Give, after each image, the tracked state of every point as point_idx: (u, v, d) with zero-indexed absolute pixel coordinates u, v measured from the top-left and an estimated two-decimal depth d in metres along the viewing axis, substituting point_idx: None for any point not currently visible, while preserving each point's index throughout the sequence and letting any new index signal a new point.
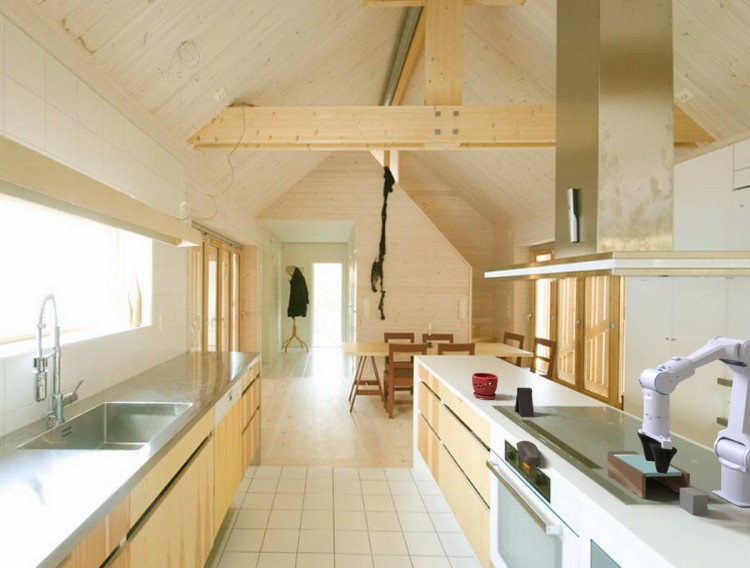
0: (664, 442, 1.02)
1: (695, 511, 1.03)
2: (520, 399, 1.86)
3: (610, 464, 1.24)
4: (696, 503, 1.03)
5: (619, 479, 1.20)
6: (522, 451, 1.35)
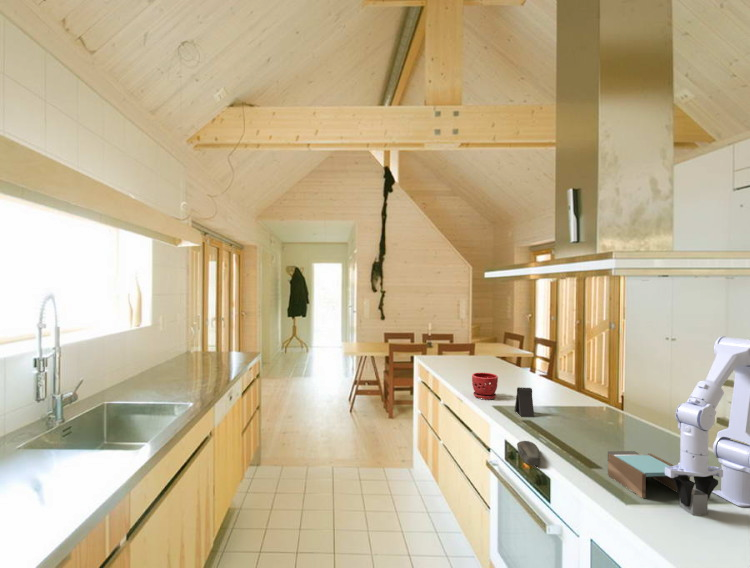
0: (665, 469, 1.06)
1: (695, 511, 1.03)
2: (520, 399, 1.86)
3: (610, 464, 1.24)
4: (696, 503, 1.03)
5: (619, 479, 1.20)
6: (522, 451, 1.35)
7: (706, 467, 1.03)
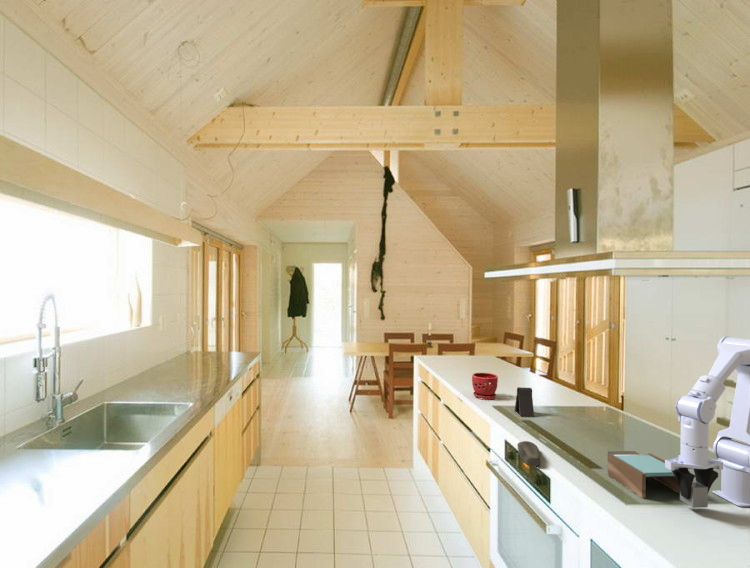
0: (665, 461, 1.06)
1: (695, 503, 1.03)
2: (520, 399, 1.86)
3: (610, 464, 1.24)
4: (696, 496, 1.03)
5: (619, 479, 1.20)
6: (522, 451, 1.35)
7: (706, 459, 1.03)
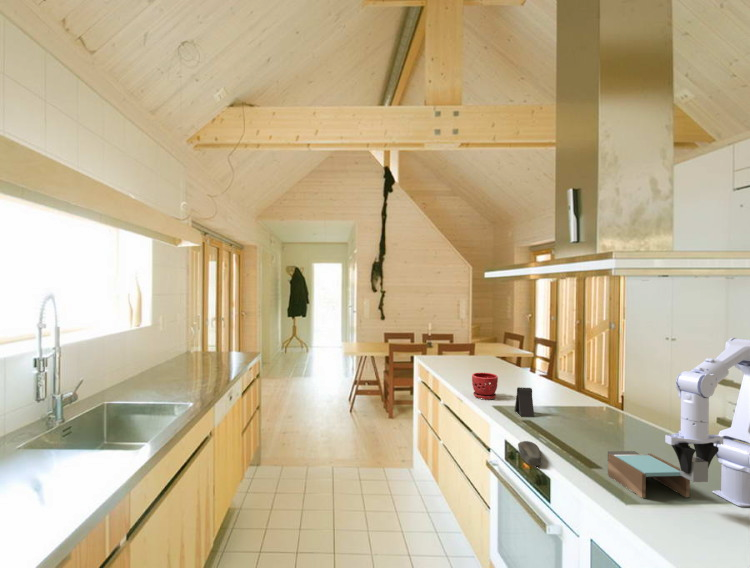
0: (666, 436, 1.06)
1: (695, 478, 1.03)
2: (520, 399, 1.86)
3: (610, 464, 1.24)
4: (696, 470, 1.03)
5: (619, 479, 1.20)
6: (523, 451, 1.35)
7: (706, 434, 1.03)
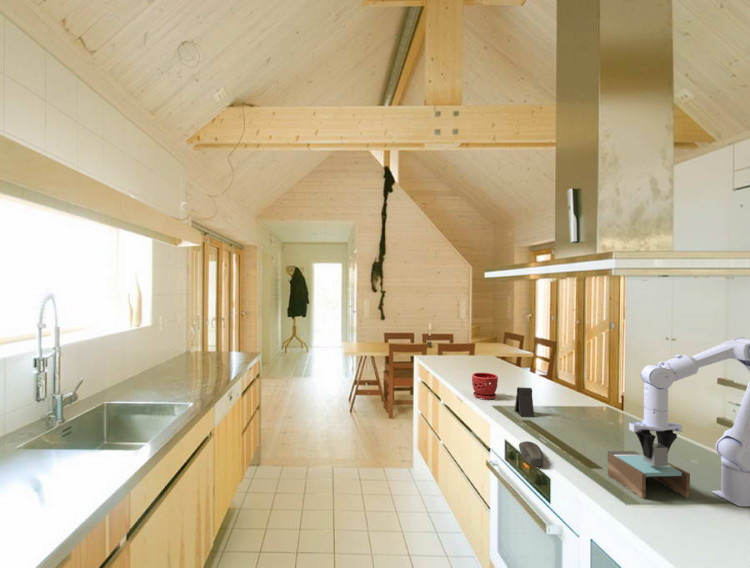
0: (629, 424, 1.16)
1: (656, 462, 1.14)
2: (520, 399, 1.86)
3: (610, 464, 1.24)
4: (657, 455, 1.14)
5: (619, 479, 1.20)
6: (525, 452, 1.34)
7: (666, 422, 1.13)
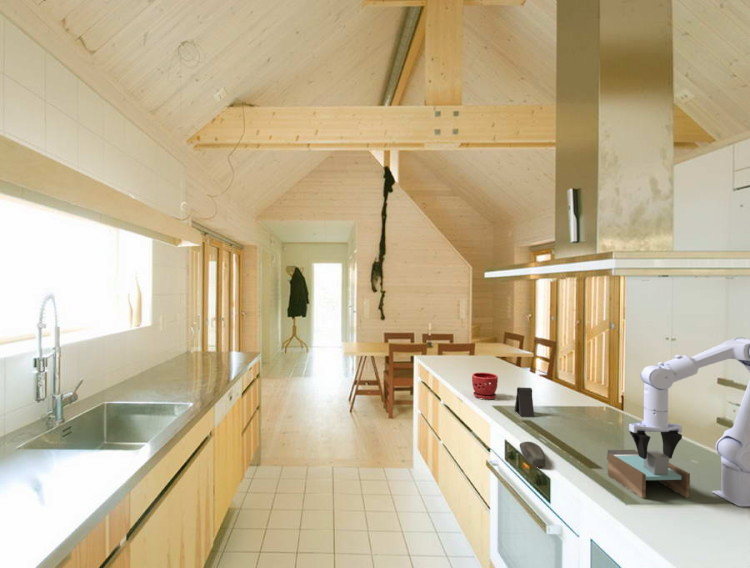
0: (629, 425, 1.16)
1: (656, 471, 1.13)
2: (520, 399, 1.86)
3: (610, 464, 1.24)
4: (658, 464, 1.13)
5: (619, 479, 1.20)
6: (527, 452, 1.34)
7: (666, 422, 1.13)
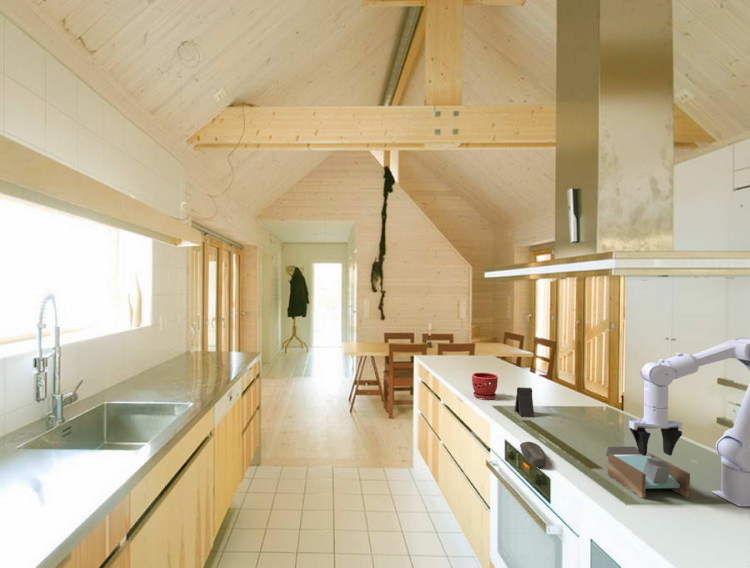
0: (629, 422, 1.16)
1: (656, 480, 1.14)
2: (520, 399, 1.86)
3: (610, 464, 1.24)
4: (658, 474, 1.13)
5: (619, 479, 1.20)
6: (527, 452, 1.34)
7: (666, 419, 1.13)
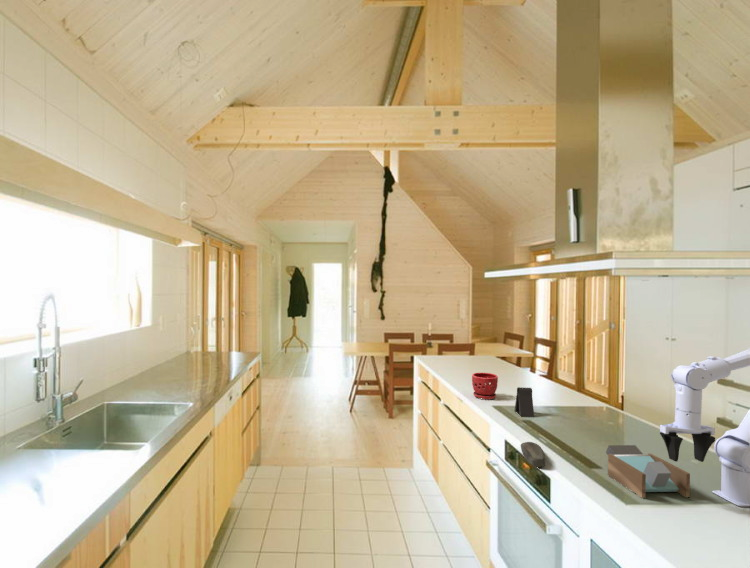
0: (660, 426, 1.12)
1: (655, 484, 1.14)
2: (520, 399, 1.86)
3: (610, 464, 1.24)
4: (658, 479, 1.13)
5: (619, 479, 1.20)
6: (527, 452, 1.34)
7: (699, 424, 1.10)
